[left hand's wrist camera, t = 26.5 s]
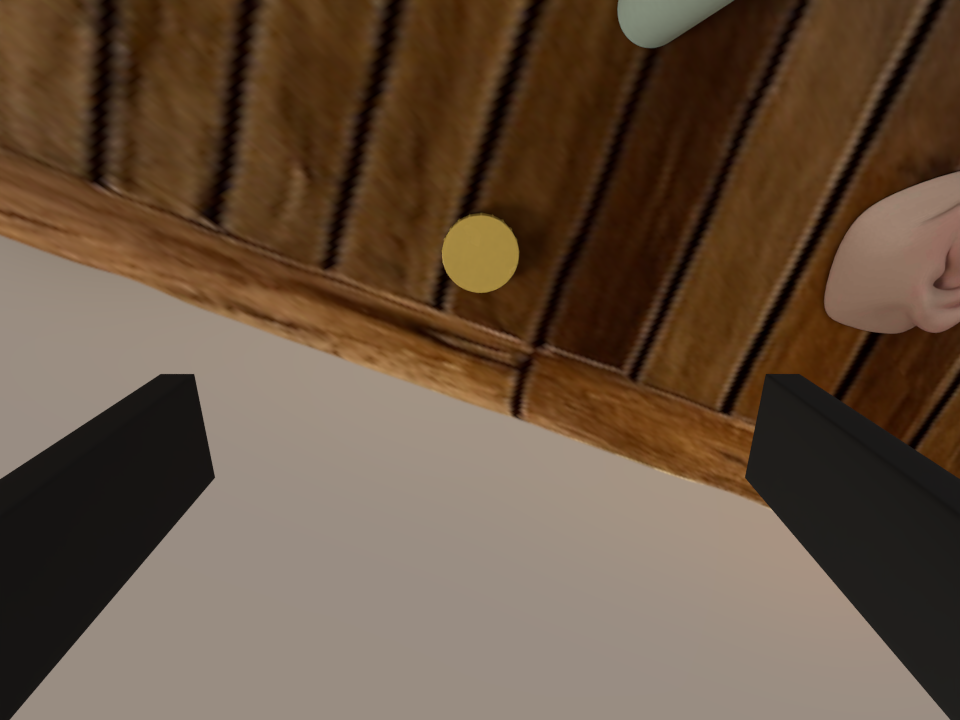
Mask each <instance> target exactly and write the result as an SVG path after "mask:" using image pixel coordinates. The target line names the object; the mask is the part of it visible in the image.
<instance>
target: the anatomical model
mask: <svg viewBox="0 0 960 720" xmlns="http://www.w3.org/2000/svg"><path fill="white" fill-rule="evenodd" d="M824 305H825V310H826V312H827V314H828V315H829V317H831V318H832V319H833V320H835V321H837V322H839V323H842V324H844V325H848V326H851V327H854V328H858V329H861V330H865V331H870V332H879V333H900V332H904V331H907V330H909V329H911V328H913V327H915V326H918V327H919V328H921V329H923V330H925V331H927V332H932V333H937V332H942V331H945V330H947V329H949V328H951V327H953V326H954V325H956V324H957V323H959V322H960V171H959V172H955V173H952V174H948V175H944V176H941V177H937V178H935V179H932V180H929V181H926V182H923V183H920V184H917V185H915V186H912V187H910V188H907V189H905V190H902V191H900V192H897V193H895V194H893V195H891V196H889V197H887V198H885V199H883V200H881V201H879V202H878V203H876V204H874V205H873V206H871V207H870V208H868V209H867V210H866V211H865V212H863V213H862V214H861V215H860V216H859V217H858V218H857V219H856V221H855V222H854V223H853V224H852V225H851V227H850V228H849V230H848V231H847V233H846V235H845V237H844V238H843V240H842V242H841V244H840V246H839V248H838V251H837V253H836V255H835V258H834V261H833V264H832V267H831V270H830V274H829V277H828V281H827V285H826V291H825V297H824Z"/></svg>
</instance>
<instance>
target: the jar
mask: <svg viewBox="0 0 960 720" xmlns="http://www.w3.org/2000/svg"><path fill="white" fill-rule="evenodd" d="M732 1H734V0H618V19H619V23H620V26H621V28H622V30H623V32H624V34H625V35H626V36H627V38H628V39H629V40H631V41H632V42H633V43H635V44H636V45H638V46H641V47H645V48H656V47H660V46H663V45H665V44H667V43H669V42H671V41H672V40H674V39H675V38H677V37H678V36H680V35H681V34H683V33H684V32H686V31H688V30H689V29H691V28H692V27H694V26H695V25H697V24H698V23H700V22H701V21H703V20H704V19H706V18H708V17H709V16H711V15H712V14H714V13H715V12H717V11H718V10H720V9H721V8H723V7H725V6H726V5H728V4H729V3H731V2H732Z"/></svg>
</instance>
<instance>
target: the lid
mask: <svg viewBox="0 0 960 720" xmlns="http://www.w3.org/2000/svg"><path fill="white" fill-rule="evenodd" d="M444 240H445V241H444V244H443V248H442V250H441V251H442V259H443V261H442V262H443V264H444V267H445V270H446V273H447V274H448V275H449V277H450V278H451V279H452V280H453V281H454V282H455V283H456V284H457V285H458V286H460V287H461V288H463V289H465V290H468V291H471V292H477V293H484V292H490V291H493V290H496V289H498V288H500V287H501V286H503V285H504V284H505V283H507V281H509V279H510V278H511V277H512V275H513V274H514V272H515V270H516V268H517V264H518V260H519V252H520V251H519V248H518V244H517V241H518V240H517V238H516V237H515V236H514V234H513V232H512V228H511V227H510V228H509V226H508V225H507V224H506V223H505V222H504V220H503V219H502V220H501V219H499V218H498V217H495V216H493V214H492V215H490V214H484V213H482V212H480V213H477V214H472V215H471V214H469V215H468V216H466V217H464V218H462V219H458V222H456V223H455V224H454V225H453V226H452V227H450V230H449V232H448V234H447V236H445V238H444Z"/></svg>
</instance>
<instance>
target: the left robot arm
mask: <svg viewBox="0 0 960 720" xmlns="http://www.w3.org/2000/svg"><path fill="white" fill-rule="evenodd" d="M214 478H215V475H214V471H213V466H212V461H211V456H210V451H209V446H208V441H207V436H206V431H205V426H204V421H203V416H202V411H201V406H200V401H199V396H198V391H197V386H196V381H195V376H194V374H160V375H159V376H157V377H156V378H154V379H153V380H151V381H150V382H148V383H147V384H145V385H143V386H142V387H140V388H139V389H137V390H136V391H134V392H133V393H131V394H130V395H128V396H127V397H125V398H124V399H122V400H121V401H119V402H118V403H116V404H114V405H113V406H111V407H110V408H108V409H107V410H105V411H104V412H102V413H101V414H99V415H98V416H96V417H95V418H93V419H92V420H90V421H88V422H87V423H85V424H84V425H82V426H81V427H79V428H78V429H76V430H75V431H73V432H72V433H70V434H69V435H67V436H66V437H64V438H63V439H61V440H59V441H58V442H56V443H55V444H53V445H52V446H50V447H49V448H47V449H46V450H44V451H43V452H41V453H40V454H38V455H37V456H35V457H34V458H32V459H30V460H29V461H27V462H26V463H24V464H23V465H21V466H20V467H18V468H17V469H15V470H14V471H12V472H11V473H9V474H8V475H6V476H5V477H3V478H1V479H0V720H10V719H11V717H12V716H13V715H14V714H15V713H16V712H17V710H18V709H19V708H20V707H21V706H22V705H23V703H24V702H25V701H26V700H27V699H28V697H29V696H30V695H31V694H32V693H33V691H34V690H35V689H36V688H37V687H38V686H39V684H40V683H41V682H42V681H43V680H44V678H45V677H46V676H47V675H48V674H49V673H50V671H51V670H52V669H53V668H54V667H55V666H56V664H57V663H58V662H59V661H60V660H61V659H62V657H63V656H64V655H65V654H66V653H67V651H68V650H69V649H70V648H71V647H72V646H73V644H74V643H75V642H76V641H77V640H78V638H79V637H80V636H81V635H82V634H83V633H84V631H85V630H86V629H87V628H88V627H89V625H90V624H91V623H92V622H93V621H94V620H95V618H96V617H97V616H98V615H99V614H100V613H101V611H102V610H103V609H104V608H105V607H106V605H107V604H108V603H109V602H110V601H111V600H112V598H113V597H114V596H115V595H116V594H117V592H118V591H119V590H120V589H121V588H122V587H123V585H124V584H125V583H126V582H127V581H128V580H129V578H130V577H131V576H132V575H133V574H134V572H135V571H136V570H137V569H138V568H139V567H140V565H141V564H142V563H143V562H144V561H145V559H146V558H147V557H148V556H149V555H150V554H151V552H152V551H153V550H154V549H155V548H156V547H157V545H158V544H159V543H160V542H161V541H162V539H163V538H164V537H165V536H166V535H167V533H168V532H169V531H170V530H171V529H172V528H173V526H174V525H175V524H176V523H177V522H178V520H179V519H180V518H181V517H182V516H183V515H184V513H185V512H186V511H187V510H188V509H189V508H190V506H191V505H192V504H193V503H194V502H195V500H196V499H197V498H198V497H199V496H200V495H201V493H202V492H203V491H204V490H205V489H206V488H207V486H208V485H209V484H210V483H211V482H212V480H213V479H214ZM745 478H746V479H747V480H748V482H749V483H750V484H751V485H752V486H753V488H754V489H755V490H756V491H757V492H758V493H759V495H760V496H761V497H762V498H763V499H764V501H765V502H766V503H767V504H768V505H769V506H770V508H771V509H772V510H773V511H774V512H775V513H776V515H777V516H778V517H779V518H780V519H781V521H782V522H783V523H784V524H785V525H786V526H787V528H788V529H789V530H790V531H791V532H792V534H793V535H794V536H795V537H796V538H797V539H798V541H799V542H800V543H801V544H802V545H803V546H804V548H805V549H806V550H807V551H808V552H809V554H810V555H811V556H812V557H813V558H814V559H815V561H816V562H817V563H818V564H819V565H820V567H821V568H822V569H823V570H824V571H825V572H826V574H827V575H828V576H829V577H830V578H831V579H832V581H833V582H834V583H835V584H836V585H837V587H838V588H839V589H840V590H841V591H842V592H843V594H844V595H845V596H846V597H847V598H848V600H849V601H850V602H851V603H852V604H853V605H854V607H855V608H856V609H857V610H858V611H859V613H860V614H861V615H862V616H863V617H864V618H865V620H866V621H867V622H868V623H869V624H870V626H871V627H872V628H873V629H874V630H875V631H876V632H877V634H878V635H879V636H880V637H881V638H882V640H883V641H884V642H885V643H886V644H887V646H888V647H889V648H890V649H891V650H892V651H893V653H894V654H895V655H896V656H897V657H898V659H899V660H900V661H901V662H902V663H903V664H904V666H905V667H906V668H907V669H908V670H909V671H910V673H911V674H912V675H913V676H914V677H915V679H916V680H917V681H918V682H919V683H920V684H921V686H922V687H923V688H924V689H925V690H926V692H927V693H928V694H929V695H930V696H931V697H932V699H933V700H934V701H935V702H936V703H937V705H938V706H939V707H940V708H941V709H942V710H943V712H944V713H945V714H946V715H947V716H948V717H949V719H950V720H960V479H959V478H957V477H956V476H954V475H952V474H951V473H949V472H948V471H946V470H945V469H943V468H942V467H940V466H939V465H937V464H936V463H934V462H933V461H931V460H930V459H928V458H927V457H925V456H923V455H922V454H920V453H919V452H917V451H916V450H914V449H913V448H911V447H910V446H908V445H907V444H905V443H904V442H902V441H901V440H899V439H897V438H896V437H894V436H893V435H891V434H890V433H888V432H887V431H885V430H884V429H882V428H881V427H879V426H878V425H876V424H875V423H873V422H872V421H870V420H868V419H867V418H865V417H864V416H862V415H861V414H859V413H858V412H856V411H855V410H853V409H852V408H850V407H849V406H847V405H846V404H844V403H843V402H841V401H839V400H838V399H836V398H835V397H833V396H832V395H830V394H829V393H827V392H826V391H824V390H823V389H821V388H820V387H818V386H817V385H815V384H814V383H812V382H810V381H809V380H807V379H806V378H804V377H803V376H801V375H800V374H766V376H765V381H764V386H763V391H762V396H761V401H760V406H759V411H758V416H757V421H756V426H755V431H754V436H753V441H752V446H751V451H750V456H749V461H748V466H747V471H746V475H745Z"/></svg>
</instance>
